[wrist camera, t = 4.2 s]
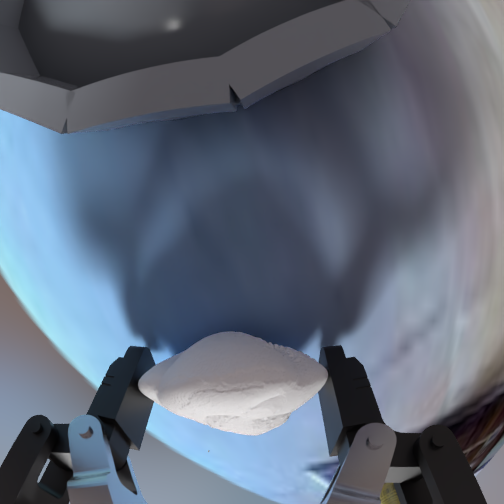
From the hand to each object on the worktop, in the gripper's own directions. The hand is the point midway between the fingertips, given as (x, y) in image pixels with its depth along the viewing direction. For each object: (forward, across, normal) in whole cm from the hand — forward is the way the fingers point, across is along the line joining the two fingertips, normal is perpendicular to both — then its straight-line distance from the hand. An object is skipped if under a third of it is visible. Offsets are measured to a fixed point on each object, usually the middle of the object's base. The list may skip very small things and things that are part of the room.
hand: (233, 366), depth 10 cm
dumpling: (+1, 0, 0) cm, 1 cm away
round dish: (+1, +1, -16) cm, 16 cm away
